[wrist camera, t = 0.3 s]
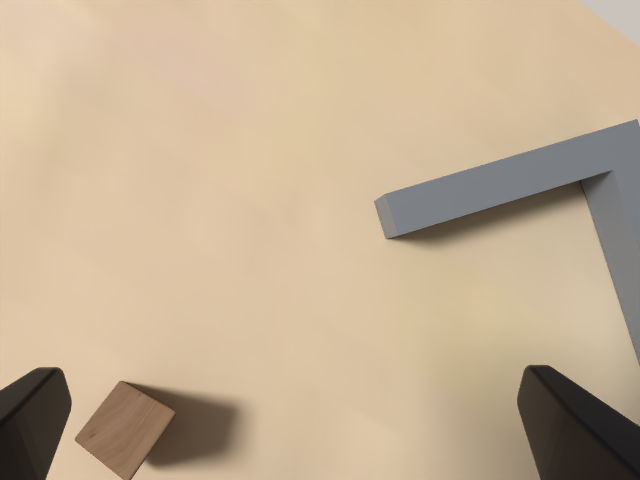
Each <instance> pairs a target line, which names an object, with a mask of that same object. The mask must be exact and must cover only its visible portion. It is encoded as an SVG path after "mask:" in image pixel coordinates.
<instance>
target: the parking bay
mask: <svg viewBox="0 0 640 480" xmlns="http://www.w3.org/2000/svg"><path fill="white" fill-rule="evenodd" d="M578 180H580V181H581V184H582V187H583V190H584V193H585V196H586V199H587V203H588V206H589V209H590V212H591V215H592V218H593V221H594V224H595V227H596V231H597V234H598V237H599V240H600V243H601V246H602V249H603V252H604V255H605V259H606V262H607V265H608V268H609V271H610V274H611V277H612V280H613V283H614V287H615V290H616V293H617V296H618V299H619V302H620V305H621V308H622V311H623V315H624V318H625V321H626V324H627V327H628V330H629V333H630V336H631V339H632V343H633V346H634V349H635V352H636V355H637V358H638V361H639V364H640V126H639V123H638V120H637V119H636V120H633V121H629V122H626V123H622V124H619V125H616V126H612V127H609V128H606V129H602V130H599V131H596V132H592V133H589V134H585V135H582V136H579V137H575V138H572V139H569V140H565V141H562V142H559V143H555V144H552V145H548V146H545V147H542V148H538V149H535V150H532V151H528V152H525V153H522V154H518V155H515V156H511V157H508V158H505V159H501V160H498V161H495V162H491V163H488V164H485V165H481V166H478V167H474V168H471V169H468V170H464V171H461V172H458V173H454V174H451V175H448V176H444V177H441V178H437V179H434V180H431V181H427V182H424V183H421V184H417V185H414V186H411V187H407V188H404V189H400V190H397V191H394V192H390V193H387V194H384V195H383V196H381V197H380V198H378V199H377V200H376V201H374V202H375V206H376V209H377V212H378V215H379V218H380V222H381V225H382V228H383V231H384V235H385V238H386V239H387V238H391V237H395V236H399V235H402V234H406V233H409V232H412V231H415V230H419V229H422V228H425V227H428V226H432V225H435V224H438V223H441V222H445V221H448V220H451V219H454V218H458V217H461V216H464V215H467V214H471V213H474V212H477V211H480V210H484V209H487V208H490V207H493V206H497V205H500V204H503V203H506V202H510V201H513V200H516V199H520V198H523V197H526V196H529V195H533V194H536V193H539V192H542V191H546V190H549V189H552V188H555V187H559V186H562V185H565V184H568V183H572V182H575V181H578Z"/></svg>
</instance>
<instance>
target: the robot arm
mask: <svg viewBox="0 0 640 480" xmlns="http://www.w3.org/2000/svg"><path fill="white" fill-rule="evenodd" d="M517 404H518V409H519V413H520V416H521V419H522V422H523V425H524V428H525V432H526V435H527V438H528V441H529V444H530V448H531V451H532V454H533V457H534V460H535V463H536V467H537V470H538V473H539V476H540V479H541V480H640V426H638V425H637V424H635V423H634V422H632V421H631V420H629V419H628V418H626V417H625V416H623V415H622V414H620V413H619V412H617V411H616V410H614V409H613V408H611V407H610V406H608V405H607V404H606V403H604V402H603V401H601V400H600V399H598V398H597V397H595V396H594V395H592V394H591V393H589V392H588V391H586V390H585V389H583V388H582V387H580V386H579V385H577V384H576V383H574V382H573V381H571V380H570V379H568V378H567V377H566V376H564V375H563V374H561V373H560V372H558V371H557V370H555V369H554V368H552V367H550V366H548V365H529V366H527V367H526V368H525V370H524V373H523V377H522V381H521V385H520V388H519V392H518V397H517ZM71 405H72V401H71V396H70V392H69V389H68V386H67V382H66V379H65V376H64V373H63V371H62V370H61V369H60V368H58V367H40V368H36V369H34V370H33V371H31V372H29V373H28V374H26V375H24V376H23V377H21V378H20V379H18V380H16V381H15V382H13V383H12V384H10V385H8V386H7V387H5V388H4V389H2V390H0V480H46V477H47V474H48V472H49V469H50V466H51V464H52V461H53V458H54V455H55V453H56V450H57V447H58V444H59V442H60V439H61V436H62V433H63V431H64V428H65V425H66V422H67V420H68V417H69V414H70V411H71Z"/></svg>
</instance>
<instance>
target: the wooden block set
mask: <svg viewBox="0 0 640 480" xmlns="http://www.w3.org/2000/svg"><path fill="white" fill-rule="evenodd" d="M175 415H176V412H175V411H174V410H172V409H171V408H169V407H167V406H165V405H164V404H162V403H160V402H158V401H156V400H155V399H153V398H151V397H149V396H148V395H146V394H144V393H142V392H141V391H139V390H137V389H135V388H134V387H132V386H130V385H128V384H127V383H125V382H123V381H120V382H119V383H118V384H117V385H116V386H115V388H114V389H113V390H112V392H111V393H110V394H109V395H108V397H107V398H106V399H105V400H104V402H103V403H102V404H101V406H100V407H99V408H98V409H97V411H96V412H95V413H94V415H93V416H92V417H91V418H90V420H89V421H88V422H87V423H86V425H85V426H84V427H83V429H82V430H81V431H80V432H79V434H78V435H77V436H76V438H75V441H76V442H77V443H78V444H80V445H81V446H82V447H83V448H85V449H86V450H87V451H88V452H90V453H91V454H92V455H93V456H95V457H96V458H97V459H98V460H100V461H101V462H102V463H103V464H105V465H106V466H107V467H108V468H110V469H111V470H112V471H113V472H115V473H116V474H117V475H118V476H120V477H121V478H122V479H123V480H131V479H132V477H133V476H134V475H135V473H136V472H137V470H138V469H139V467H140V466H141V464H142V463H143V462H144V460H145V459H146V457H147V456H148V454H149V453H150V451H151V450H152V448H153V447H154V446H155V444H156V443H157V441H158V440H159V438H160V437H161V435H162V434H163V432H164V431H165V430H166V428H167V427H168V425H169V424H170V422H171V421H172V419H173V418H174V416H175Z"/></svg>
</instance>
